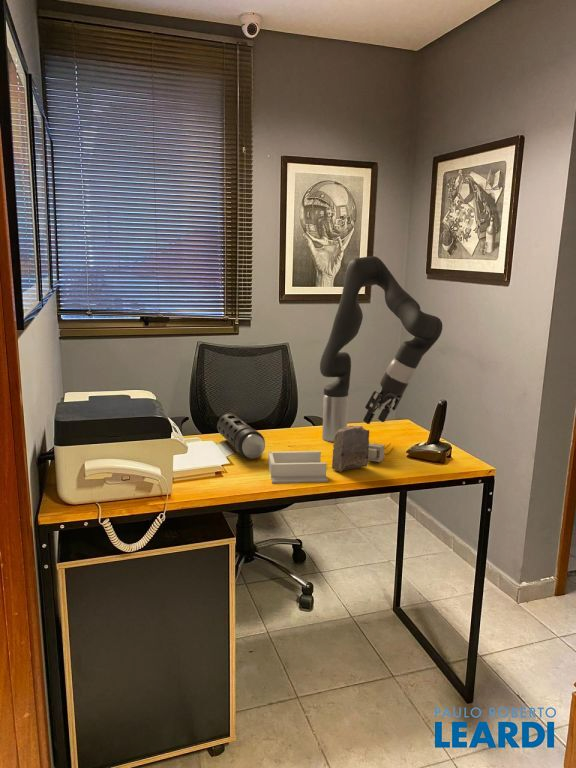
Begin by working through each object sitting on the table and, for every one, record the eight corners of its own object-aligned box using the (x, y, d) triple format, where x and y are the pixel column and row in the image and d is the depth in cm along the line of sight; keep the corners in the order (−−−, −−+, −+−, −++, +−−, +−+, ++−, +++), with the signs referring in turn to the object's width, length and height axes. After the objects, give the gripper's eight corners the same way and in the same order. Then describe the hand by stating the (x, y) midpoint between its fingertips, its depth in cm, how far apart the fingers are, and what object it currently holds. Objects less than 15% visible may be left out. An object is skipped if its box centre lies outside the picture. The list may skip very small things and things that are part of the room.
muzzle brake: (240, 438, 218) (240, 411, 216) (267, 461, 193) (267, 431, 191) (216, 440, 214) (216, 413, 212) (240, 464, 189) (240, 434, 187)
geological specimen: (358, 464, 191) (360, 421, 188) (369, 470, 186) (371, 425, 182) (331, 469, 186) (332, 425, 182) (341, 475, 180) (343, 429, 177)
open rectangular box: (268, 464, 189) (268, 451, 188) (319, 463, 191) (320, 450, 190) (272, 483, 173) (272, 469, 172) (328, 482, 175) (328, 468, 174)
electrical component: (378, 452, 214) (379, 439, 213) (394, 455, 211) (395, 441, 211) (362, 460, 191) (364, 445, 191) (380, 462, 189) (381, 447, 189)
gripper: (400, 369, 176) (376, 413, 181) (376, 369, 165) (351, 416, 170) (419, 382, 172) (394, 427, 177) (395, 382, 161) (370, 430, 166)
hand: (373, 421), depth 174 cm, fingers open, 8 cm apart
